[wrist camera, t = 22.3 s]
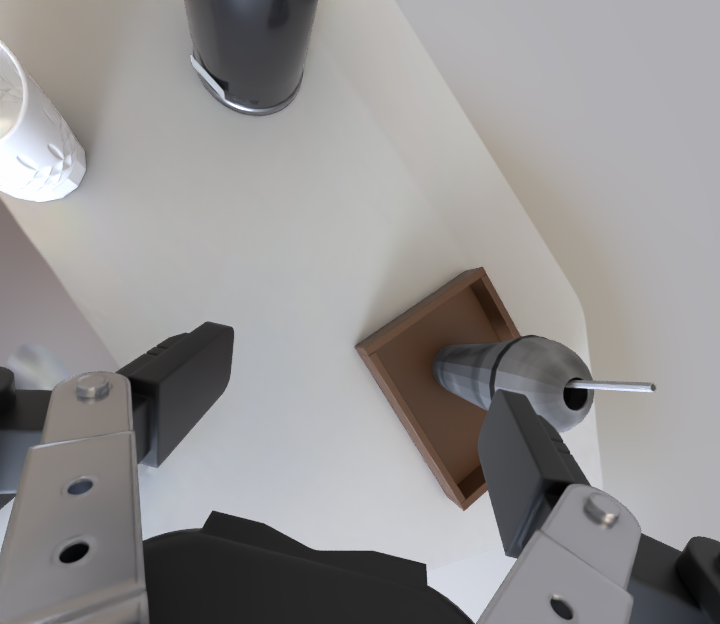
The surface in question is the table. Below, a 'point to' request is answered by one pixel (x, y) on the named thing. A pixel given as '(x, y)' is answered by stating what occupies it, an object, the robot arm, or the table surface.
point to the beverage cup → (525, 376)
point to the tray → (418, 386)
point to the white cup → (34, 139)
